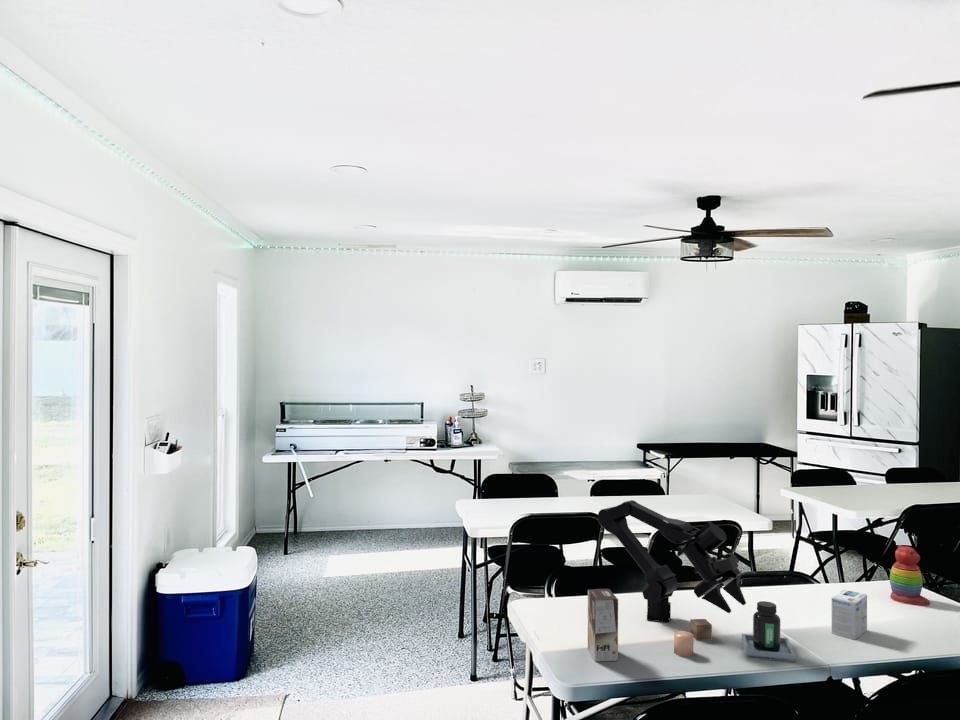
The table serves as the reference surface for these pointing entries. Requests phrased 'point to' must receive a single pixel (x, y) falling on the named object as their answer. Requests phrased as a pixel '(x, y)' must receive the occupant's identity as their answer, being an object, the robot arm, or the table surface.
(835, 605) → the light bulb box
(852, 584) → the table surface
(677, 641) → the cylinder block
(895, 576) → the stacking bear
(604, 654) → the coffee box
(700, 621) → the walnut block
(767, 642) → the supplement bottle
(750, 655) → the tray
